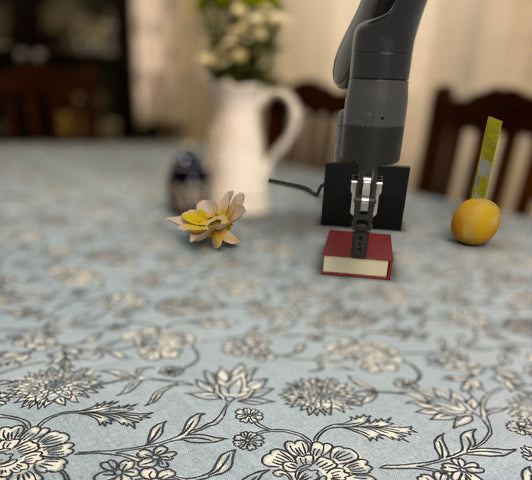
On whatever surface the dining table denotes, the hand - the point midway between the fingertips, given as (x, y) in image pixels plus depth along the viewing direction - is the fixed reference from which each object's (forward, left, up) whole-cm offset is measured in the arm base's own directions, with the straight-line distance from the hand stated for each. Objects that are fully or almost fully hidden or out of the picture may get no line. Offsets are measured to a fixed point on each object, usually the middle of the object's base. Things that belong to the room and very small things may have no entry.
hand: (358, 257), depth 72 cm
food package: (-9, +55, -5) cm, 56 cm away
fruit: (0, +36, -5) cm, 36 cm away
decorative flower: (-32, -1, -5) cm, 32 cm away
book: (-7, +10, -5) cm, 13 cm away
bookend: (-22, +31, -5) cm, 38 cm away
